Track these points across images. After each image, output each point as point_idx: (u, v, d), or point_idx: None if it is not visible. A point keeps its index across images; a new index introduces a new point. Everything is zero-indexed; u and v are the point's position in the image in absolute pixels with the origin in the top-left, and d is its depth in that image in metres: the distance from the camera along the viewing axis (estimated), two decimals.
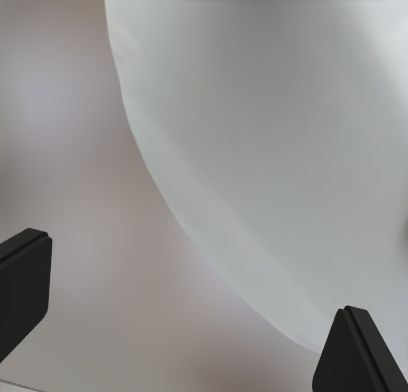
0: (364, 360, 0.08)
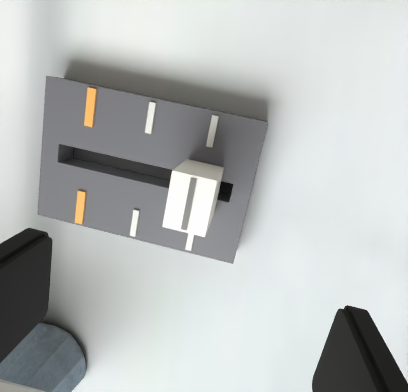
0: (364, 360, 0.08)
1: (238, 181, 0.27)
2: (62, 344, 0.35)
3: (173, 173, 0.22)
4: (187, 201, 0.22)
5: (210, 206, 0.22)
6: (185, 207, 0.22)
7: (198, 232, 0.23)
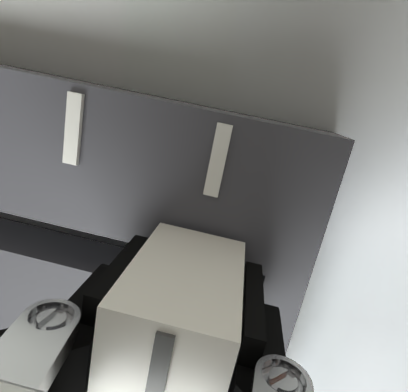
0: None
1: (277, 271, 0.12)
2: None
3: (101, 315, 0.07)
4: None
5: None
6: None
7: None
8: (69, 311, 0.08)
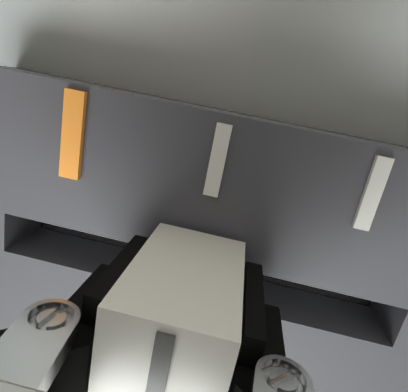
0: None
1: None
2: None
3: (101, 315, 0.07)
4: None
5: None
6: None
7: None
8: (69, 311, 0.08)
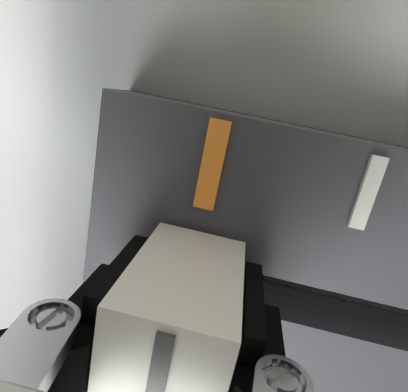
0: None
1: None
2: None
3: (101, 315, 0.07)
4: None
5: None
6: None
7: None
8: (69, 311, 0.08)
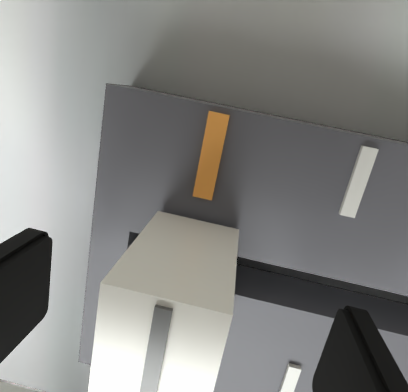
0: (364, 360, 0.08)
1: None
2: None
3: (104, 290, 0.08)
4: (149, 366, 0.08)
5: (213, 378, 0.08)
6: (144, 380, 0.08)
7: None
8: None
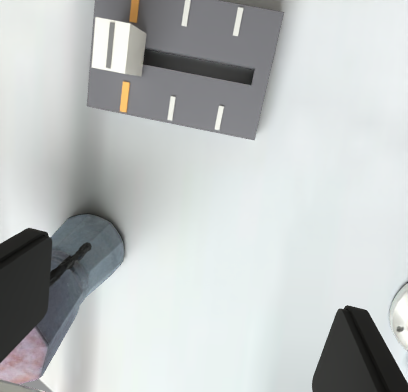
0: (364, 360, 0.08)
1: (259, 65, 0.33)
2: (105, 228, 0.40)
3: (96, 19, 0.28)
4: (109, 43, 0.29)
5: (127, 46, 0.29)
6: (108, 48, 0.29)
7: (119, 70, 0.29)
8: None
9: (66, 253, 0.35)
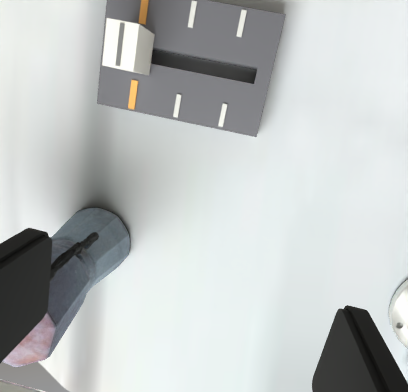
0: (364, 360, 0.08)
1: (261, 65, 0.34)
2: (112, 221, 0.42)
3: (107, 20, 0.30)
4: (119, 42, 0.30)
5: (135, 45, 0.30)
6: (118, 47, 0.30)
7: (128, 67, 0.31)
8: None
9: (75, 243, 0.36)
